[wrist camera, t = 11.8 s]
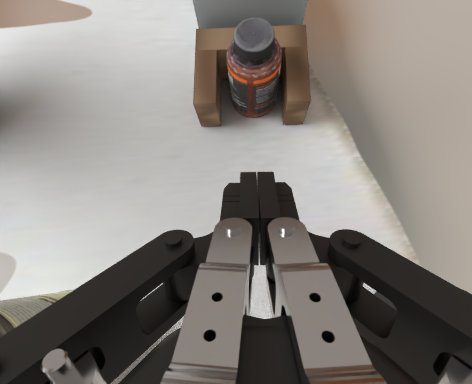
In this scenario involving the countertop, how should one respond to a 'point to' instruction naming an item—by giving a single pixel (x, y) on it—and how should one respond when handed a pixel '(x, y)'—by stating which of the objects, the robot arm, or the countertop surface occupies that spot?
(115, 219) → the countertop surface
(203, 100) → the walnut u-shaped holder
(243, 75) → the supplement bottle
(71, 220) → the countertop surface
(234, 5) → the board
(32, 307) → the coffee can
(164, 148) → the countertop surface
